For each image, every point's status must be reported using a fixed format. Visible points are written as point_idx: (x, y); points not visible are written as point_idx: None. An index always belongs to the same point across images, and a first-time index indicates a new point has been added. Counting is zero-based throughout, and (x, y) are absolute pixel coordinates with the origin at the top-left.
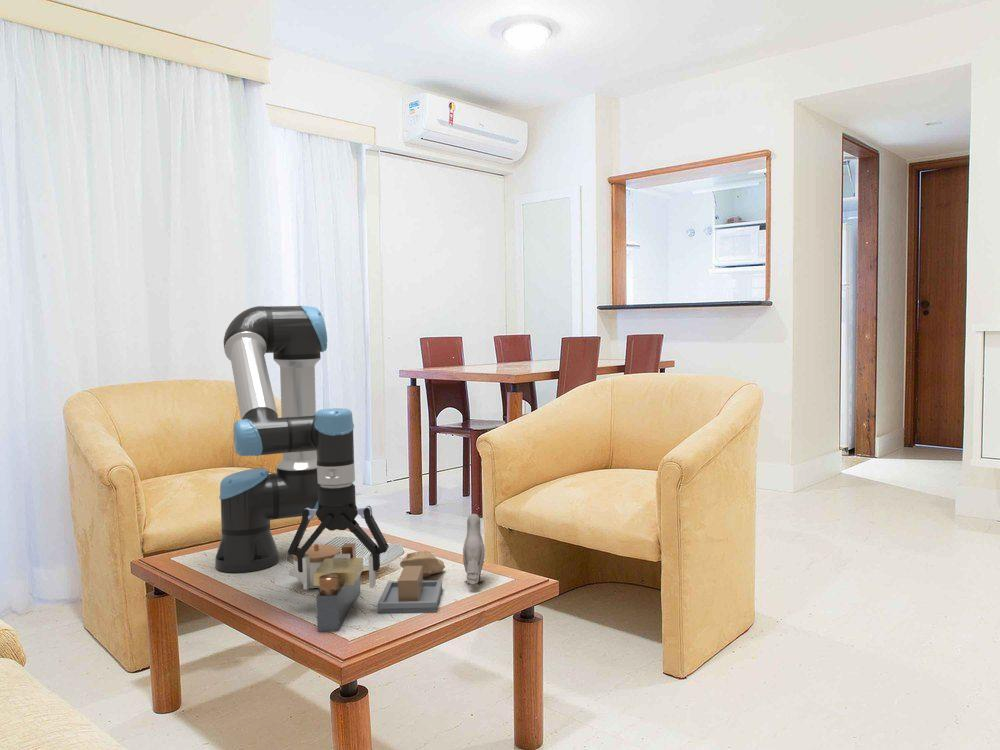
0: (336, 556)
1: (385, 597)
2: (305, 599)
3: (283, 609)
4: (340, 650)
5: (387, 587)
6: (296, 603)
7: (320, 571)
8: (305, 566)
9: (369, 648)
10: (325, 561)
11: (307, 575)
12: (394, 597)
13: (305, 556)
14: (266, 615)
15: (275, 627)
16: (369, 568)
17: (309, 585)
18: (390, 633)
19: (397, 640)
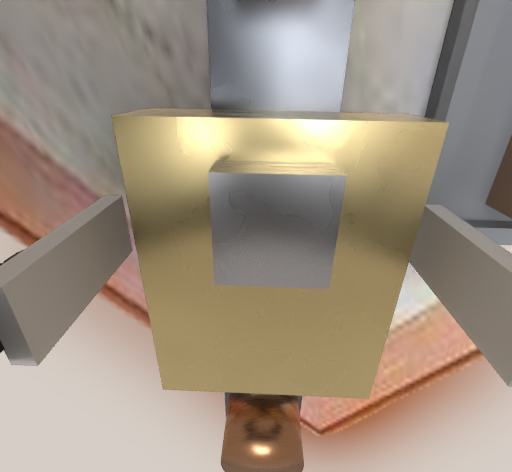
0: (232, 245)
1: (449, 170)
2: (88, 46)
3: (60, 162)
4: (309, 405)
5: (484, 30)
6: (75, 98)
7: (189, 370)
8: (69, 322)
9: (368, 403)
10: (145, 201)
11: (101, 269)
12: (486, 120)
13: (8, 334)
14: (36, 212)
15: (115, 296)
16: (459, 321)
17: (123, 215)
18: (420, 349)
19: (432, 379)
